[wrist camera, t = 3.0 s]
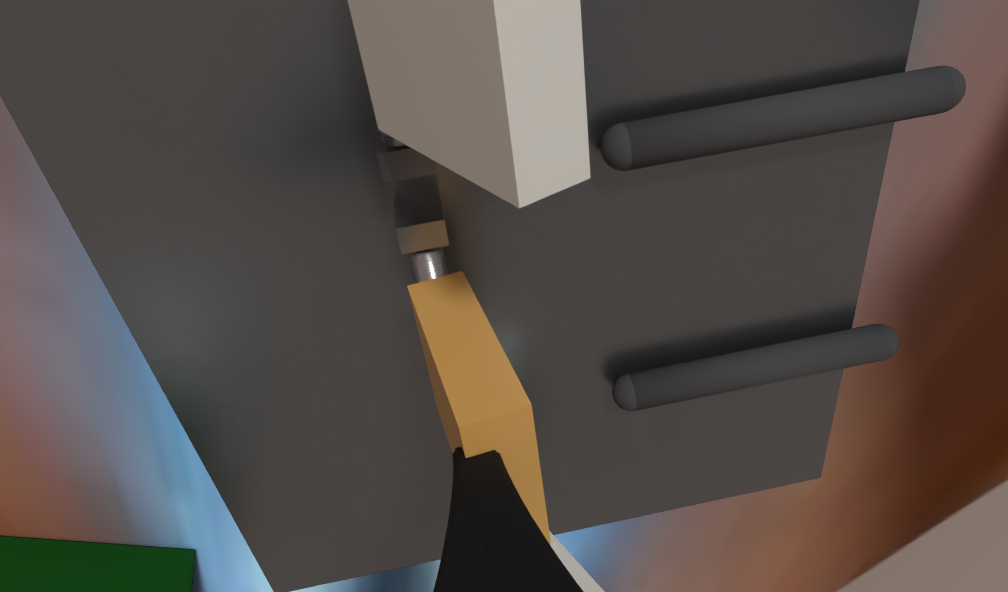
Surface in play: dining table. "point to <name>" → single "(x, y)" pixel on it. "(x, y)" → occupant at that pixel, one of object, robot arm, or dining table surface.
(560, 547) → the ivory paddle
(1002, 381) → the dining table surface
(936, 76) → the cords
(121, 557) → the milk carton
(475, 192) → the panel
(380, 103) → the ivory paddle
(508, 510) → the robot arm
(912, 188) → the dining table surface
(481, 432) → the orange paddle
